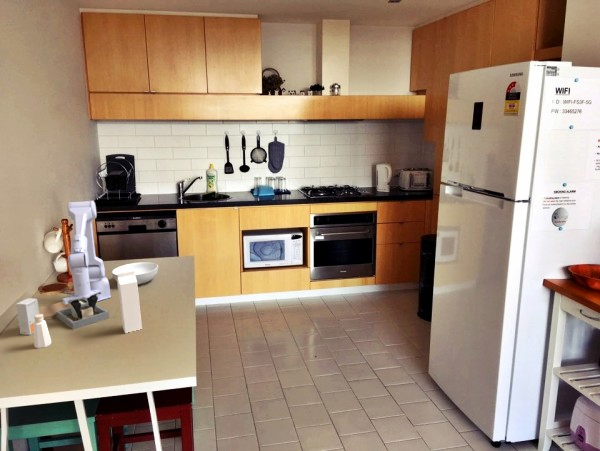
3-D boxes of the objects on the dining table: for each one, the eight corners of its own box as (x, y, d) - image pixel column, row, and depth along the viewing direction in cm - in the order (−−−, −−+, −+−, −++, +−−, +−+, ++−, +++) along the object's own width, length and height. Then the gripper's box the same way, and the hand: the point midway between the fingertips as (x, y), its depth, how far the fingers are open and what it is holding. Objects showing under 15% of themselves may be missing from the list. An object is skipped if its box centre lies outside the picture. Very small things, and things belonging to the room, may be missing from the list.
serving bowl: (141, 272, 242) (140, 259, 240) (168, 279, 229) (167, 266, 228) (104, 284, 225) (102, 270, 224) (131, 292, 213) (129, 278, 212)
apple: (85, 291, 216) (83, 278, 215) (66, 295, 212) (64, 281, 210) (82, 286, 223) (80, 273, 221) (63, 290, 218) (61, 277, 217)
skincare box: (30, 335, 173) (25, 304, 170) (20, 334, 173) (15, 303, 171) (42, 328, 178) (37, 298, 176) (32, 327, 179) (27, 297, 176)
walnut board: (64, 303, 202) (64, 300, 202) (76, 310, 194) (75, 308, 194) (29, 313, 192) (28, 310, 192) (39, 321, 184) (38, 318, 184)
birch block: (89, 316, 188) (87, 304, 187) (94, 319, 185) (92, 307, 184) (78, 320, 185) (77, 307, 184) (83, 323, 182) (82, 310, 181)
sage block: (81, 312, 192) (80, 300, 191) (86, 315, 189) (85, 303, 188) (71, 315, 190) (70, 303, 189) (76, 318, 187) (74, 306, 185)
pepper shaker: (39, 341, 168) (35, 312, 165) (54, 341, 168) (50, 312, 165) (30, 348, 162) (26, 318, 160) (46, 348, 162) (41, 318, 160)
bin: (91, 307, 198) (90, 301, 197) (108, 317, 186) (108, 311, 186) (56, 317, 188) (55, 311, 187) (73, 329, 177) (72, 322, 176)
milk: (142, 330, 175) (136, 273, 170) (125, 333, 172) (118, 276, 167) (138, 324, 180) (133, 268, 175) (122, 327, 177) (116, 271, 172)
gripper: (66, 290, 174) (70, 324, 177) (104, 280, 184) (108, 313, 187) (58, 286, 178) (63, 319, 181) (96, 276, 189) (100, 308, 192)
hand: (85, 316), depth 184 cm, fingers closed on birch block, 4 cm apart
